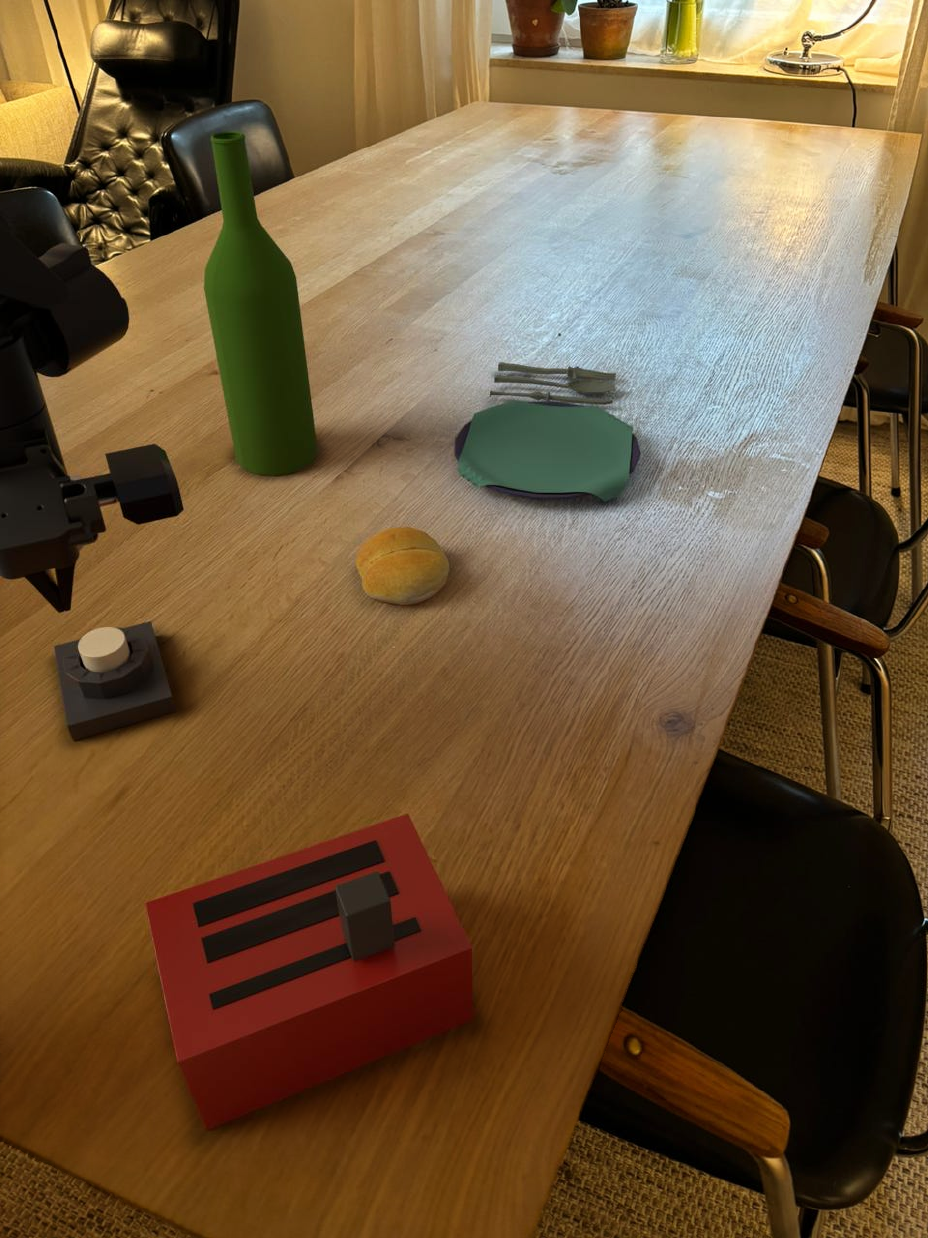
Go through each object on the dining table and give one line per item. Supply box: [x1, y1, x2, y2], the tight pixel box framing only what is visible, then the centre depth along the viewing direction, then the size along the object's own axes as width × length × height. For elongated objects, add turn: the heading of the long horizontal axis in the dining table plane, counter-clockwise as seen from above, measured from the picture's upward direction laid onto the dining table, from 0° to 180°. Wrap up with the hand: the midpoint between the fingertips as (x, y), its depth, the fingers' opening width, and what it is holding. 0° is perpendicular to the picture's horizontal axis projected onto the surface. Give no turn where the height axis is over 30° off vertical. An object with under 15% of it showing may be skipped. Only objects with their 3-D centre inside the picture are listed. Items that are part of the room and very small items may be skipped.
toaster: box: [144, 813, 474, 1131], centre depth 58 cm, size 16×10×8 cm, turn 113°
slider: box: [335, 872, 395, 962], centre depth 53 cm, size 2×2×4 cm
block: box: [53, 620, 177, 742], centre depth 80 cm, size 8×10×4 cm
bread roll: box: [355, 526, 450, 606], centre depth 90 cm, size 8×9×4 cm
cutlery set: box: [454, 361, 642, 503], centre depth 110 cm, size 20×30×2 cm, turn 170°
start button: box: [78, 626, 130, 673], centre depth 79 cm, size 4×4×2 cm
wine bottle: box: [203, 130, 318, 477], centre depth 98 cm, size 9×9×32 cm
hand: (64, 608), depth 70 cm, fingers closed
